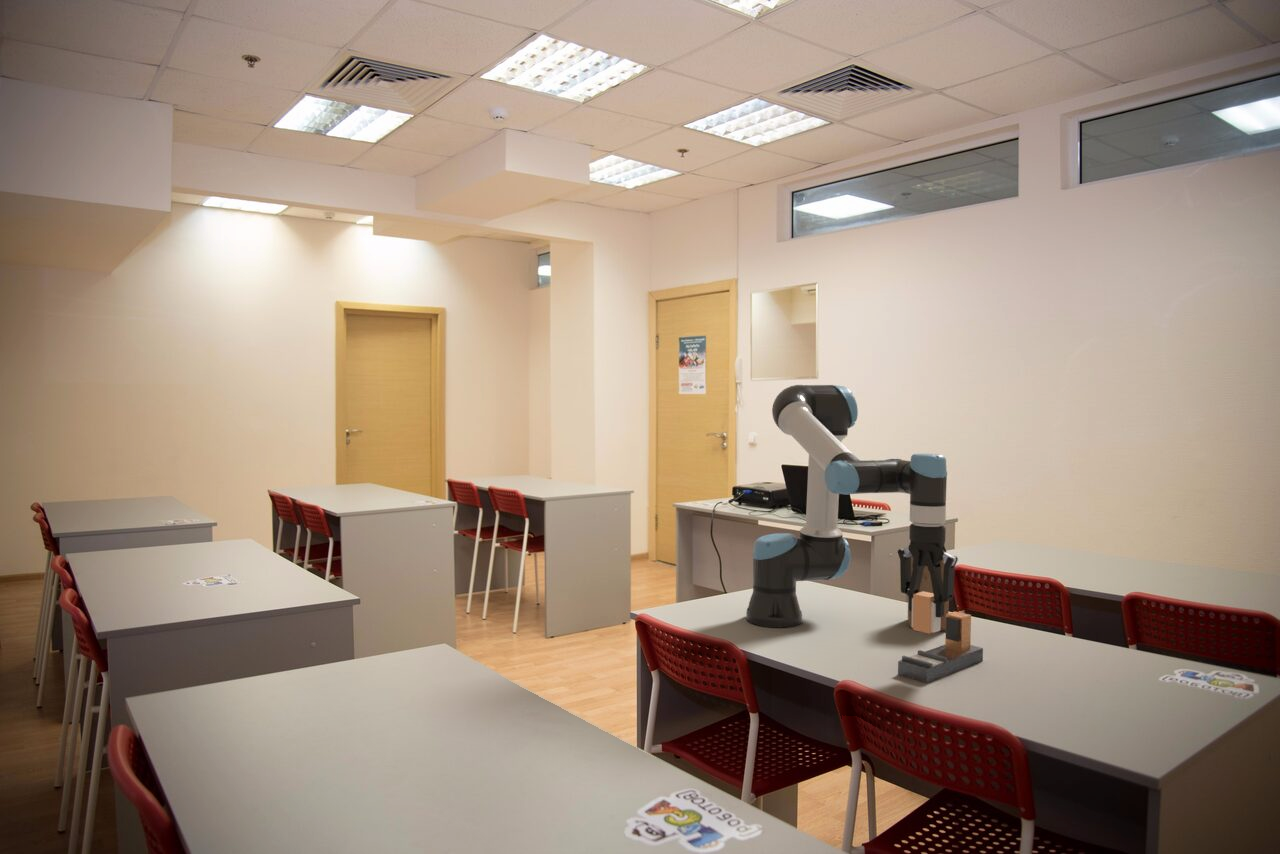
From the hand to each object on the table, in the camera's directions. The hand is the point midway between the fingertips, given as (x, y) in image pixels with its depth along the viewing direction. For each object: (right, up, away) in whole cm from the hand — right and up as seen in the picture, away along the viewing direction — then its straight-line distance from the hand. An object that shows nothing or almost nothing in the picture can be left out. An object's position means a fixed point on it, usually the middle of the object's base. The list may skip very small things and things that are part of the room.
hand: (925, 628), depth 182 cm
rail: (+5, -10, +5) cm, 12 cm away
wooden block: (+14, -9, +40) cm, 43 cm away
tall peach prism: (0, 0, 0) cm, 0 cm away
